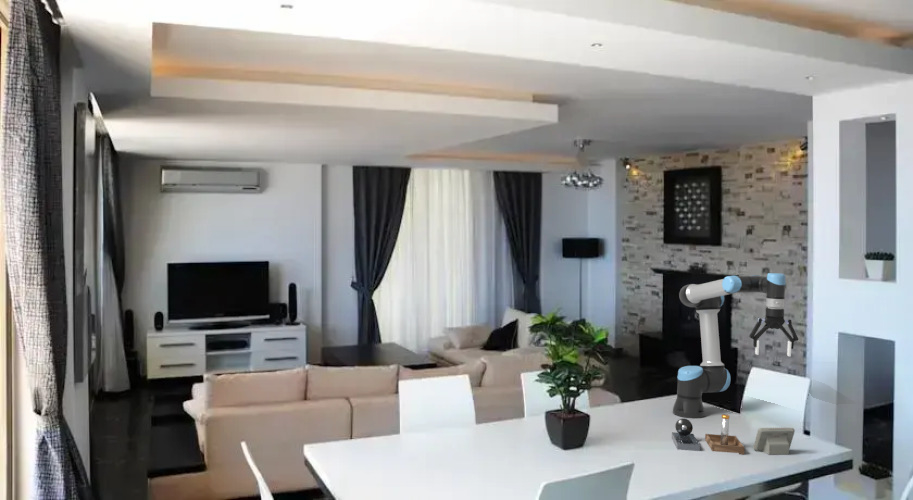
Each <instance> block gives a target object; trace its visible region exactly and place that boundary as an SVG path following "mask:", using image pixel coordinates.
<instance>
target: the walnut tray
mask: <svg viewBox="0 0 913 500" xmlns="http://www.w3.org/2000/svg"><path fill="white" fill-rule="evenodd" d="M704 441H705V443H706V444H707V445H708V447H709V449H710V450H711V451H712V452H718V453H719V452H720V453H731V454H733V453H734V454H738V455H745V446H744V444H742V442H741V441H740V440H739V438H738V437H737V436H736V435H729V434H728V445H720V442H721V434H714V433H713V434H711V433H710V434H709V433H705V435H704Z"/></svg>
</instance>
